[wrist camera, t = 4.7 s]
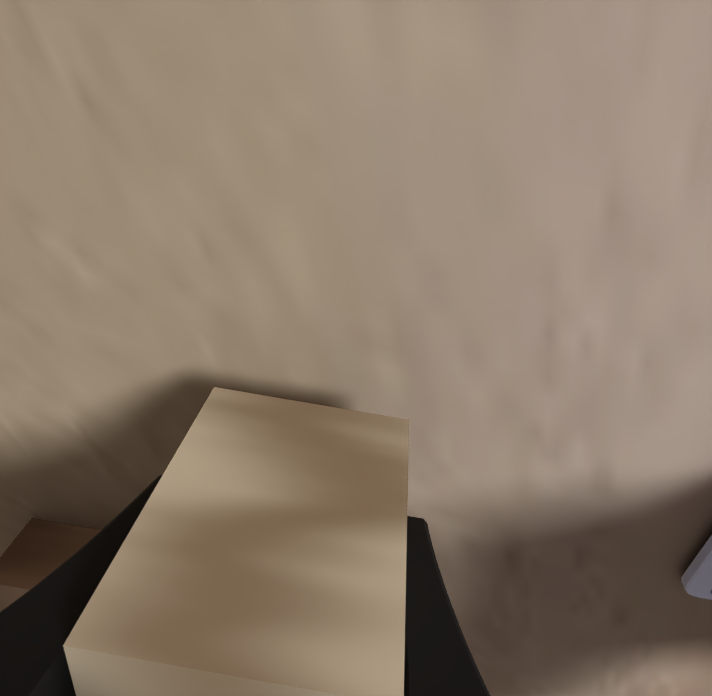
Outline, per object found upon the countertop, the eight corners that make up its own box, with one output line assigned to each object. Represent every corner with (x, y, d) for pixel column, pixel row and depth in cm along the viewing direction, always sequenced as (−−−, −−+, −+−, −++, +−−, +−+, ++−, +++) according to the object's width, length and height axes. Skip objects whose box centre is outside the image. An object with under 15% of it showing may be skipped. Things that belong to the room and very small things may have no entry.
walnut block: (341, 559, 19) (330, 642, 16) (313, 714, 24) (301, 794, 22) (40, 508, 19) (-19, 581, 16) (80, 673, 25) (41, 747, 22)
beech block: (408, 419, 12) (403, 705, 7) (377, 550, 14) (356, 838, 9) (214, 387, 12) (62, 645, 7) (214, 521, 14) (101, 791, 9)
